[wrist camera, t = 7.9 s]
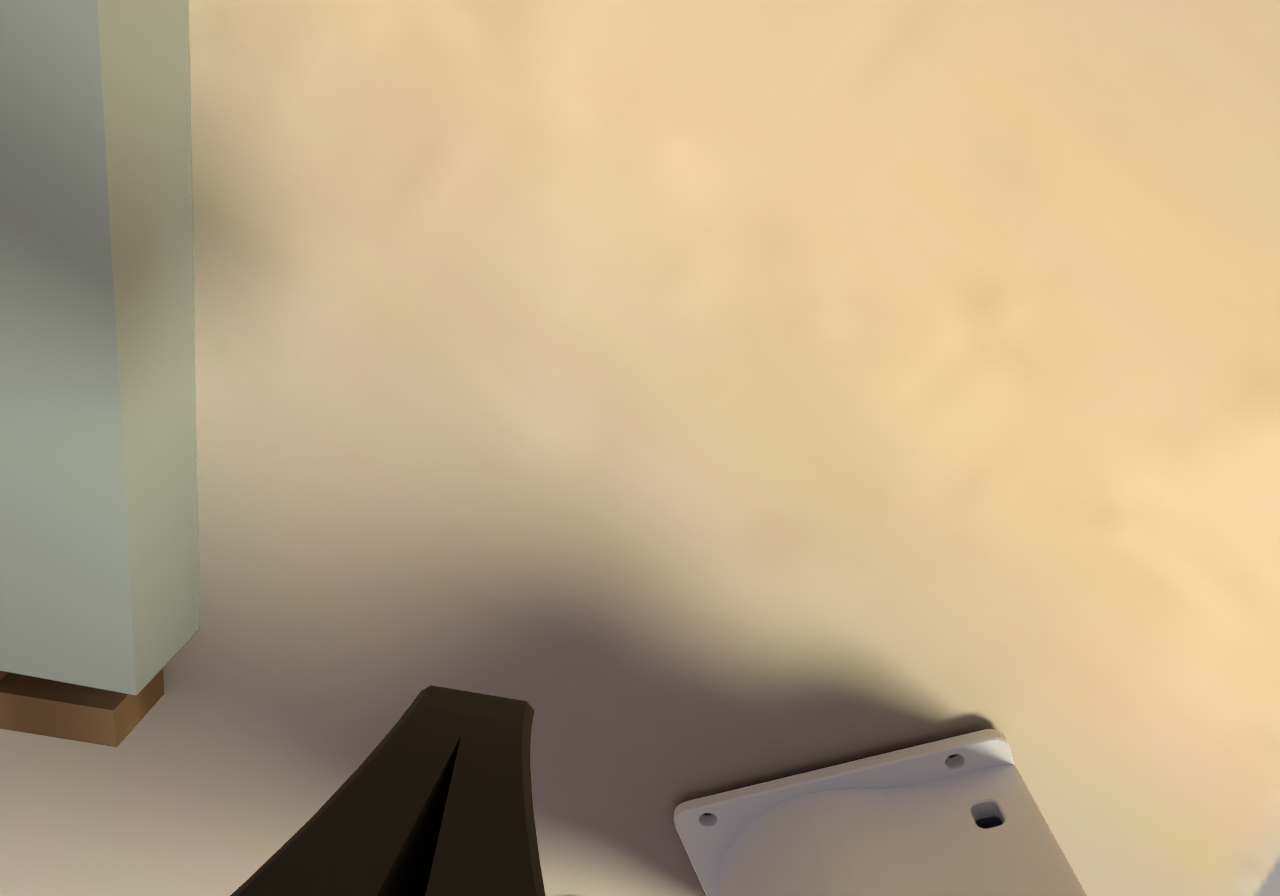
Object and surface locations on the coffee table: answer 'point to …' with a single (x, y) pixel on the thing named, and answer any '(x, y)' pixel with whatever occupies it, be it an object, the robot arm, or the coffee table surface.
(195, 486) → the slat
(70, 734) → the end rail
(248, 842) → the coffee table surface
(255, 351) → the coffee table surface
